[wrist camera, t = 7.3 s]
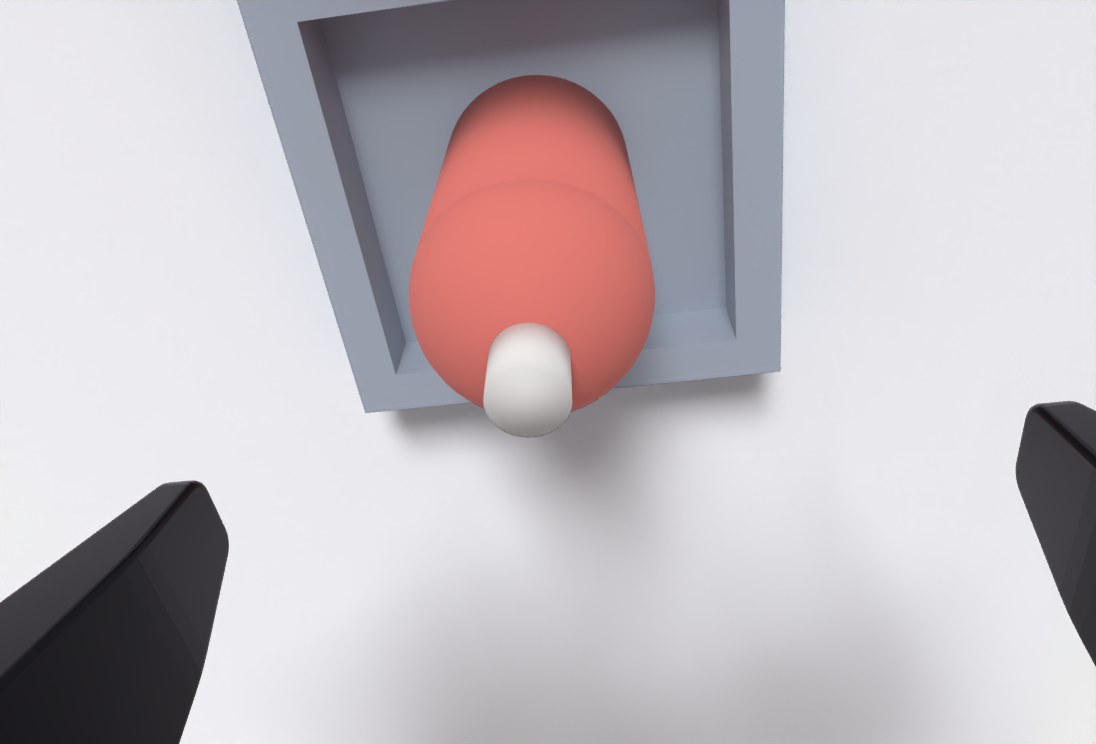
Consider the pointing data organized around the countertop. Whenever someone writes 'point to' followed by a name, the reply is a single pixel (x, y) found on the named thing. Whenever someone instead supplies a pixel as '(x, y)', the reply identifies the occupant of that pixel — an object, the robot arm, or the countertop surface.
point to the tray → (555, 50)
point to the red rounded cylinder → (533, 256)
